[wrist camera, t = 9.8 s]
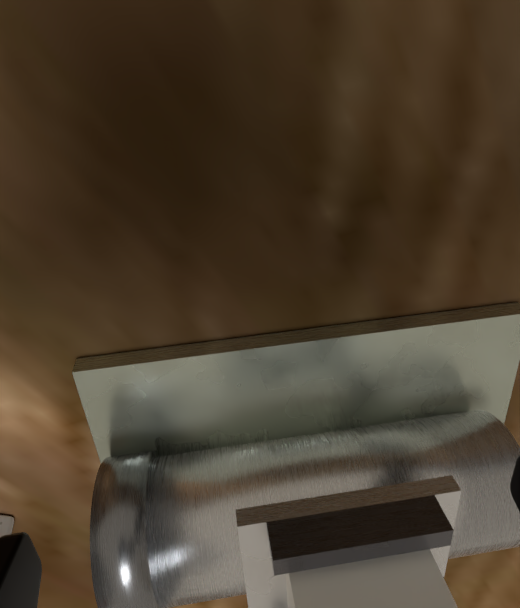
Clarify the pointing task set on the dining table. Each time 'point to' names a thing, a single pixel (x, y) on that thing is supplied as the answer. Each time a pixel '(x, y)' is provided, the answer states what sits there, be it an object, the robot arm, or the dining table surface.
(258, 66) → the dining table surface
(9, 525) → the supplement box
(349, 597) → the off-white cube
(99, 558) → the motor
